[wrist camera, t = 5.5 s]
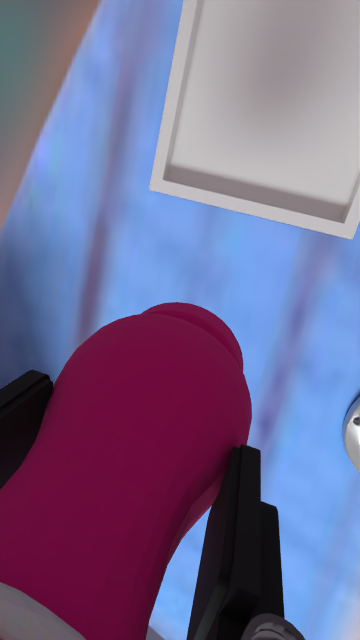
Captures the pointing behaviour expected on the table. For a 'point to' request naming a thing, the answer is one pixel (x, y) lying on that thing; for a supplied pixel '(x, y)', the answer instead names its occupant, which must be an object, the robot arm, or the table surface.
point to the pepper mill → (119, 474)
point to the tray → (266, 111)
